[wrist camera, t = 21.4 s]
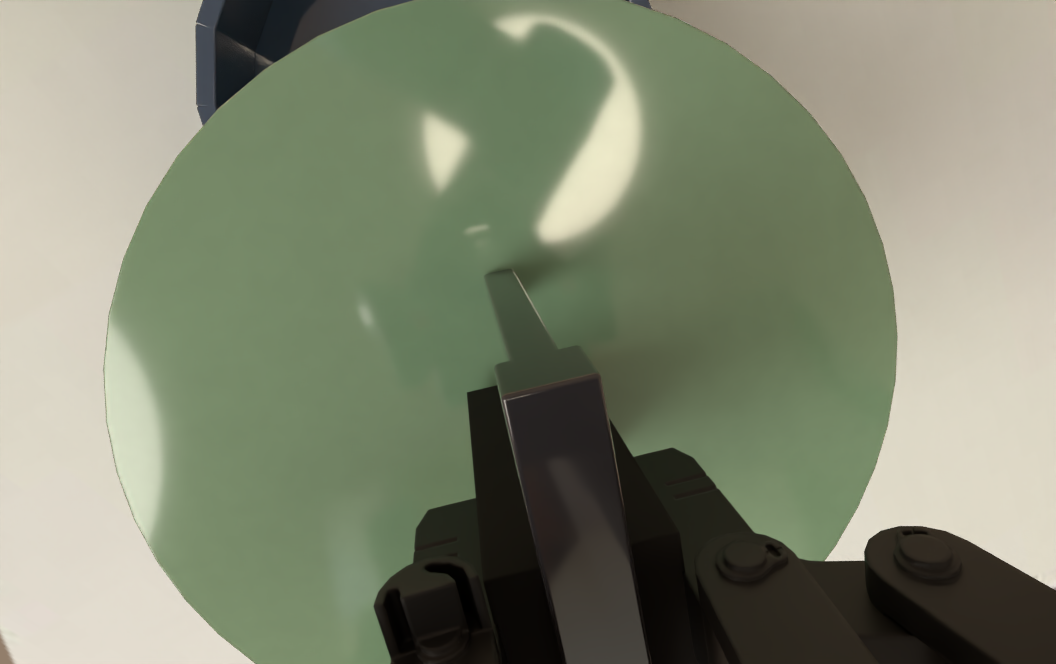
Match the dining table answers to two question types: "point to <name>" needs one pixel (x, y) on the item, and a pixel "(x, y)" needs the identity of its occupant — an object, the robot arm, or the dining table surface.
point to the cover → (489, 314)
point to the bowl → (263, 38)
